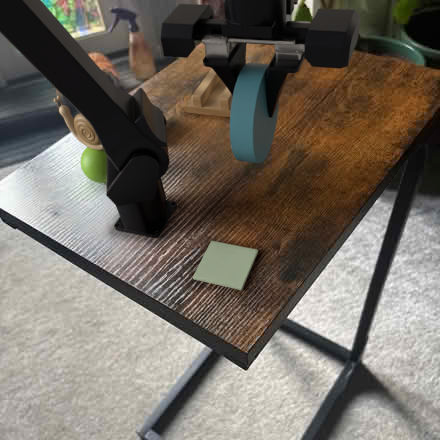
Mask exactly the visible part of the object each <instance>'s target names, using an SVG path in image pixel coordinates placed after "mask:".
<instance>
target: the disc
mask: <svg viewBox="0 0 440 440" xmlns="http://www.w3.org/2000/svg"><path fill="white" fill-rule="evenodd" d="M269 64H270V63H262V62H261V63H260V62H253V63H247V64H245V65H244V66H243V68H242V70H241V71H240V74H239V76H238V79H237V82H236V85H235V89H234V93H233V98H232V104H231V113H230V117H229V140H230V141H229V142H230V147H231V152H232V155H233V157H234V159H235V160H236V161H239V162H246V163H253V164H262V163H264V162H265V161H266V159H267V158H268V156H269V153H270V150H271V148H272V146H273V145H272V144H273V142H274V137H275V133H276V129H277V123H278V116H279V108H280V107H279V106H280V100H279V101H278V104H277V107H276V110H275V113H274V115H273V117H272V118H270V117H269V115H268V110H267V68H268V65H269Z"/></svg>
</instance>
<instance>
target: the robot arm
mask: <svg viewBox="0 0 440 440" xmlns="http://www.w3.org/2000/svg"><path fill="white" fill-rule="evenodd" d="M298 3H299V0H223V9H224V18H223V19H222V18H215V17H216V16H215V10H214V8H212V6H211V4H201V3H198V4H196V3H178V5H177V6H176V7H175V8H174V9H173V10H172V11H171V12H170V13H169V14H168V16H167V17H166V18H165V20H163V21H162V23H161V24H160V25H159V28H158V33H157V39H158V44H159V48H160V53H161V55H162V57H169V58H170V57H171V58H184V59H188V57H190V55H191V54H192V53H193V52H194V50H195V49H196V41H198V42H199V41H200V42H201V43H202V44H203V45H204V54H205V56H204V57H203V58H202V63H203V66H204V67H205V68H210V69H211V68H212V69H213V70H214V72H215V73H216V74H217V75H218V77H219V78H220V79H221V80H222V82H223V83H224V84H225V86H226V87H227V88H228V90H229V91H230V93H231V94H232V96H233V93H234V89H235V85H236V82H237V79H238V76H239V74H240V71H241V70H242V68H243V66H244V65H245V64H246V60H247V57H246V56H247V46H248V44H249V45H267V46H273V48H274V49H273V50H274V51H275V52H274V54H273V57H272V59H271V60H270V62H269V63H268V64H269V65H268V68H267V110H268V115H269V117H270V118H272V117H273V115H274V113H275V110H276V107H277V104H278V101H279V102H280V98H281V94H282V91H283V89H284V85H285V82H286V80H287V77H288V75H289V74H296V73H299V71H300V70H301V68H302V65H303V63H304V61H306V62H308V64H309V65H310V66H311V67H312V68H325V69H326V68H327V69H338V70H340V69H344V68H346V67H348V66H349V64H350V62H351V59H352V56H353V53H354V52H355V49H356V46H357V42H358V40H359V34H360V27H361V26H360V25H361V17H360V15H359V13H358V12H357V11H356V9H348V8H347V9H345V8H343V9H342V8H318V9H317V11H316V13H315V15H314V17H313V18H312V21H307V20H287V16H291V15H293V12H294V10H295V6H296V5H298ZM0 34H1V35H2V36H3V37H4V38H5V39H6V40H7V42H9V44H10V45H12V46H13V47H14V48H15V49H16V51H18V52H19V54H20V55H22V56H23V57H24V59H26V61H28V62H29V63H30V64H31V65H32V67H34V69H35V70H37V71H38V72H39V74H41V76H43V78H44V79H46V80H47V82H48V83H50V85H51V86H52V87H53V88H54V89H55V90H56V91H57V92H58V93H59V94H61V96H62V97H63V98H65V100H66V101H67V102H68V103H69V104H70V105H71V106H72V107H73V108H74V109H75V110H76V111H77V112H78V114H79V113H80V114H81V115H82V116H83V117H84V118H85V119H86V120H87V121H88V122H89V123H90V124H91V126H92V127H93V129H94V131H95V133H96V135H97V137H98V139H99V141H100V143H101V145H102V147H103V149H104V151H105V153H106V155H107V182H106V183H105V184H106V185H105V186H106V187H105V188H106V189H105V190H106V193H105V194H106V197H107V199H109V200H110V202H112V203H113V205H115V206H116V210H117V213H118V216H119V217H118V219H117V220H116V222H115V223H114V225H113V228H114V230H116V231H118V232H123V233H128V234H133V235H137V236H142V237H147V238H152V239H158V238H160V236H161V235H162V234H163V232H164V230H165V228H166V226H168V223H169V222H170V220H171V218H172V217H173V215H174V213H175V212H176V210H177V208H178V203H177V201H174V200H169V199H167V196H166V195H167V194H166V191H165V188H164V187H165V186H164V184H163V180H162V178H163V177H164V176H165V175H166V173H167V172H168V170H169V167H170V154H169V145H168V138H167V132H166V126H165V122H164V116H165V115H164V111H163V110H161V109H160V108H159V107H158V108H159V109H160V110H159V109H158V108H156V107H157V106H156V105H154V104H153V102H152V101H151V100H150V98H149V97H148V94H147V93H146V92H145V90H144V88H143V87H138V89H137V90H136V91H135V92H134V94H133V95H132V94H130V93H128V92H127V91H124V90H123V89H121V88H119V87H118V86H116V85H115V84H114V83H113V81H112V80H111V79H110V78H109V77H108V75H106V74H105V72H104V71H103V70H102V69H101V68H100V67H99V65H98V64H97V63H96V62H95V61H94V59H93V58H92V57H91V56H90V55H89V54H88V52H86V50H85V49H84V48H83V47H82V46H81V44H80V43H79V42H78V41H77V40H76V39H75V38H74V36H73V35H72V34H71V33H70V32H69V31H68V30H67V29H66V27H65V26H64V25H63V24H62V23H61V22H60V20H58V18H57V17H56V15H54V14H53V13H52V12H51V10H50V9H49V8H48V7H47V6H46V4H45V3H44V2H43V1H42V0H0ZM155 106H156V107H155Z"/></svg>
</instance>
